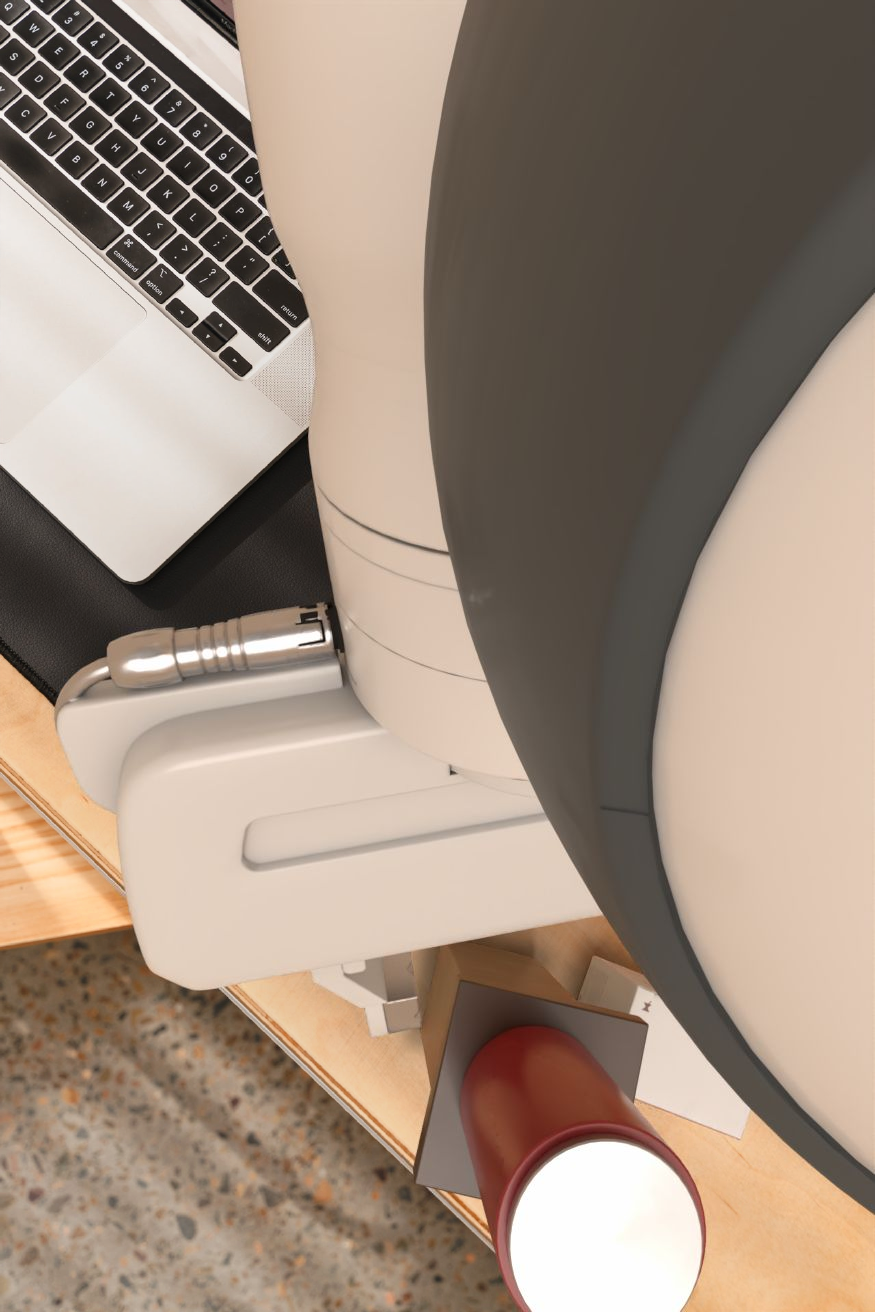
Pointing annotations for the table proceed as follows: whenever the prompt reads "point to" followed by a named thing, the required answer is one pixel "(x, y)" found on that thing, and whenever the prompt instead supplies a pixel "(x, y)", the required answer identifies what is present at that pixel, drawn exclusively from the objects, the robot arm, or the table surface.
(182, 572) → the table surface
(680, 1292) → the soda can
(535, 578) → the robot arm
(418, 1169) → the walnut stand
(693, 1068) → the small box
